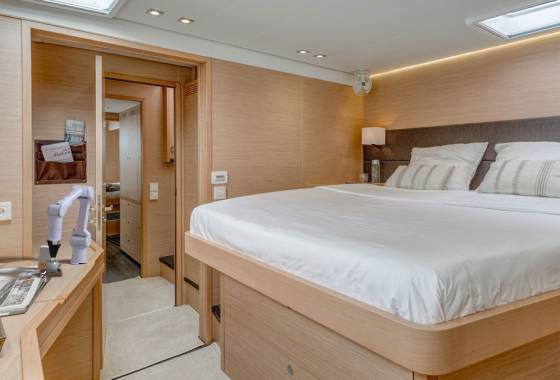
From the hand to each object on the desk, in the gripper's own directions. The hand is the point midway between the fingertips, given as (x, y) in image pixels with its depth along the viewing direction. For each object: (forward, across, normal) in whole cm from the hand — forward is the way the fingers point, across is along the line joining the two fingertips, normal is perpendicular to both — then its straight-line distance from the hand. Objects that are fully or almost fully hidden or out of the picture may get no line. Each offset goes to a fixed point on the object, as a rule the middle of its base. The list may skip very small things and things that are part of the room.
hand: (52, 255), depth 178 cm
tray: (+9, 0, 0) cm, 9 cm away
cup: (+9, 0, 0) cm, 9 cm away
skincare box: (+10, -11, -2) cm, 15 cm away
